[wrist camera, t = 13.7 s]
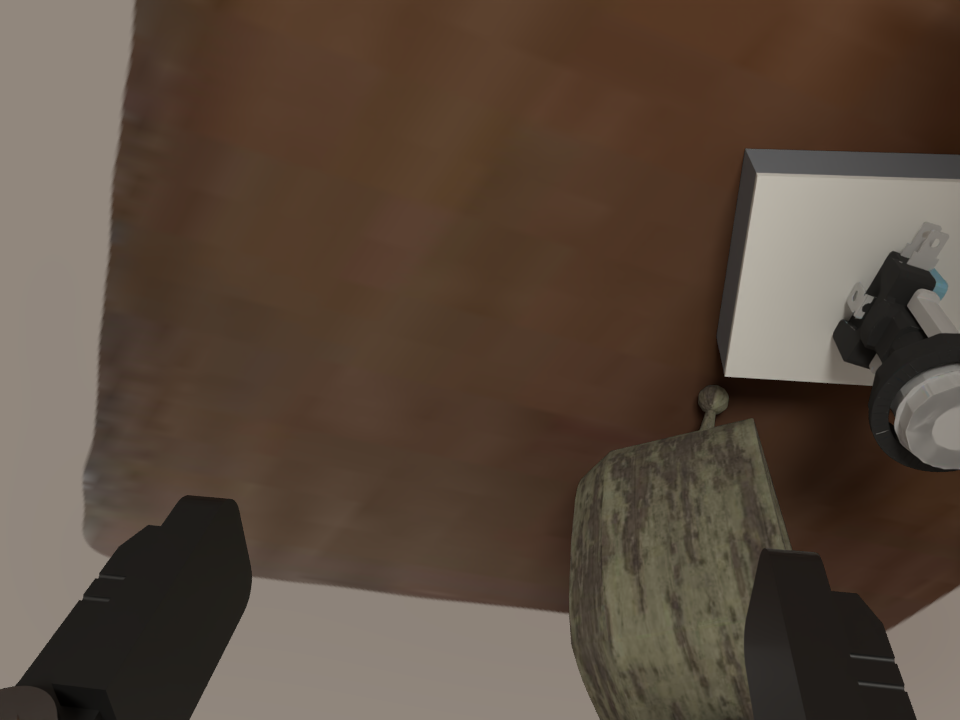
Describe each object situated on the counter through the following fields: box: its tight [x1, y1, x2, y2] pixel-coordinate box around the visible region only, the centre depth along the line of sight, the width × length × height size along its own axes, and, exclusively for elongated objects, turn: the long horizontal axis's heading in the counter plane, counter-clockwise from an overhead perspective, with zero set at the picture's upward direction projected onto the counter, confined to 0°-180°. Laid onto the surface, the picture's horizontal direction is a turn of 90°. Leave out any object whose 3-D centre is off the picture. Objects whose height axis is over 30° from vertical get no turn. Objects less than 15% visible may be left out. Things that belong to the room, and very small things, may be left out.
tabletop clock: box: [569, 385, 792, 720], centre depth 37 cm, size 14×9×25 cm, turn 22°
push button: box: [833, 222, 960, 472], centre depth 32 cm, size 7×5×10 cm
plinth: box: [716, 149, 960, 386], centre depth 38 cm, size 10×10×4 cm
